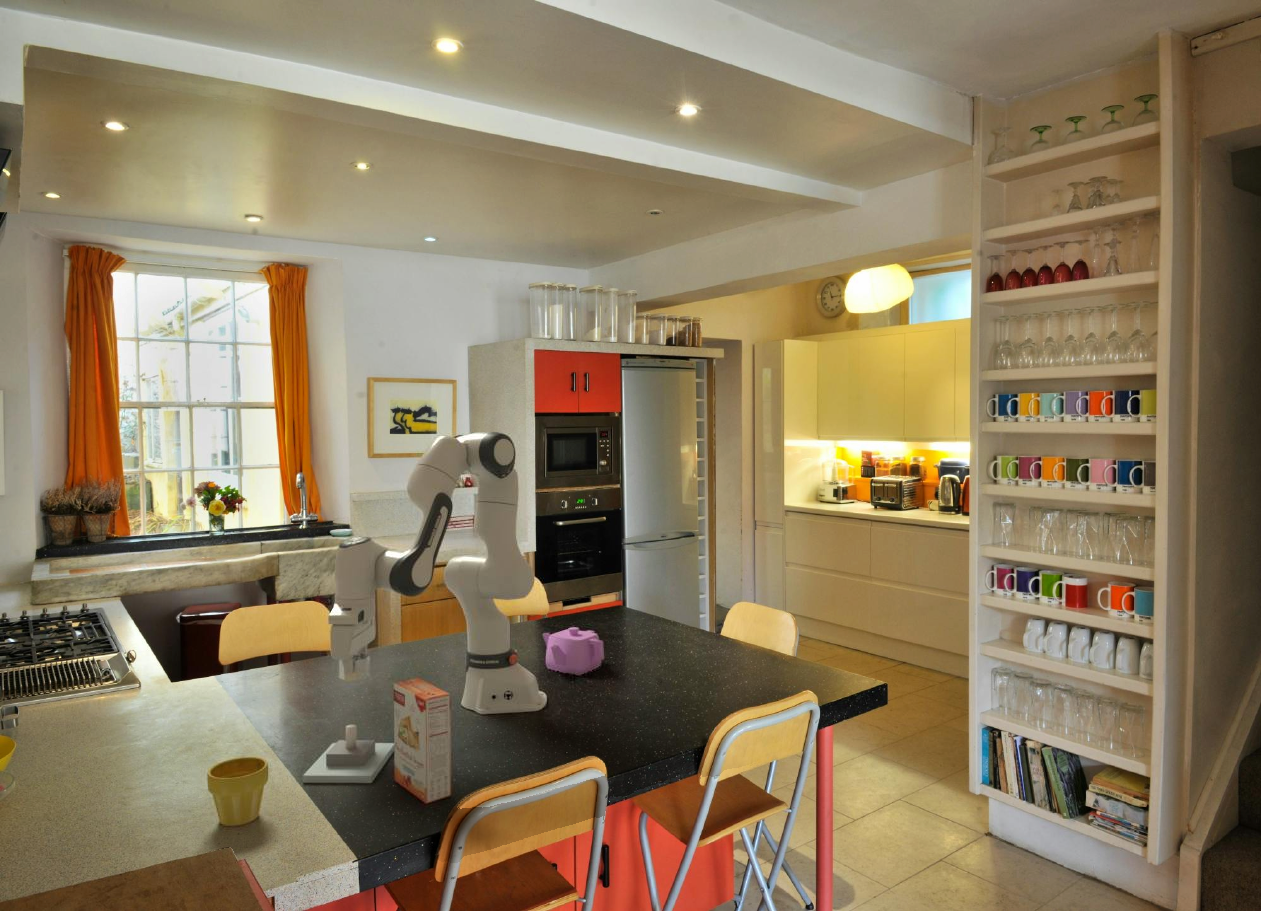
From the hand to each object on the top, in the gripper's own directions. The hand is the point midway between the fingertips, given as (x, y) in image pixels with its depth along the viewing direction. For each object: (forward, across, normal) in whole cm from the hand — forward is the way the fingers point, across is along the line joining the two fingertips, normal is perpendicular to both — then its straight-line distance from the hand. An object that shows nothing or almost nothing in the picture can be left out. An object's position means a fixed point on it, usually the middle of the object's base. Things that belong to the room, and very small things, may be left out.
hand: (354, 669), depth 195 cm
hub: (+2, 0, 0) cm, 2 cm away
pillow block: (+18, +11, +3) cm, 21 cm away
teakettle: (+17, -64, +45) cm, 80 cm away
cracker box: (+18, +23, +21) cm, 36 cm away
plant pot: (+18, +36, -10) cm, 42 cm away
